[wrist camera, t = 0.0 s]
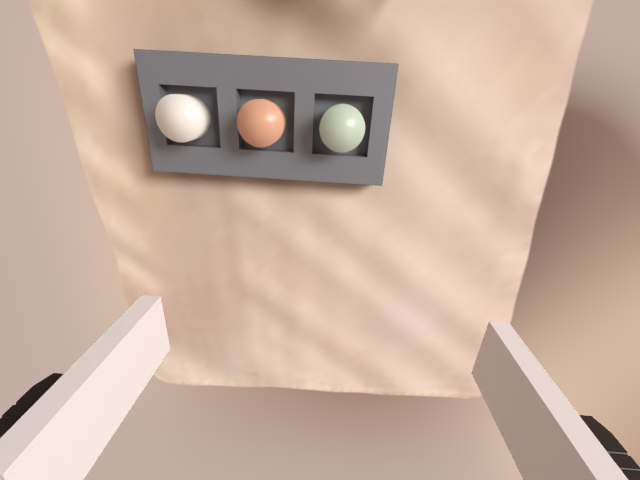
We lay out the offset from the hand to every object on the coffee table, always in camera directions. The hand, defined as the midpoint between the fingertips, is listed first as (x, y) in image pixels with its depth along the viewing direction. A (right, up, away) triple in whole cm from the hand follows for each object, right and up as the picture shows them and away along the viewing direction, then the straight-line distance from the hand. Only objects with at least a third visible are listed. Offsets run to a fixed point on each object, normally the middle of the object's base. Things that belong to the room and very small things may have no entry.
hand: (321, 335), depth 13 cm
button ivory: (-14, +17, +21) cm, 30 cm away
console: (-6, +18, +23) cm, 30 cm away
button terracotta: (-6, +16, +20) cm, 27 cm away
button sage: (+2, +16, +20) cm, 26 cm away
